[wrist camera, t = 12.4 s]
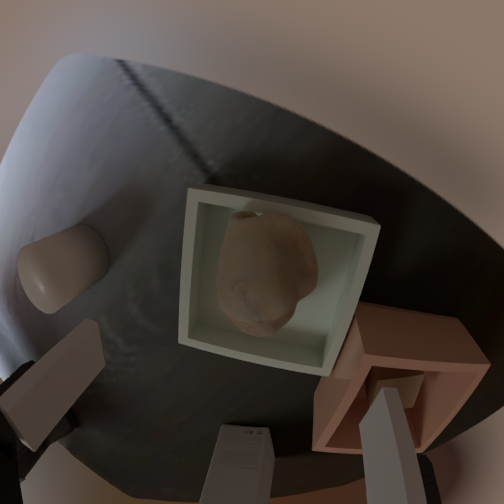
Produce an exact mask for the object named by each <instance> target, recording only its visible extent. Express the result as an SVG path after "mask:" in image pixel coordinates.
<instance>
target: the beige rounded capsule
mask: <svg viewBox="0 0 504 504" xmlns="http://www.w3.org/2000/svg"><path fill="white" fill-rule="evenodd" d="M17 269H18V275H19V279H20V282H21V285H22V287H23V289H24V291H25V293H26V295H27V297H28V298H29V300H30V301H31V302H32V303H33V305H34V306H35V307H36V308H38V309H39V310H40V311H42V312H44V313H46V314H53V313H55V312H56V311H58V310H59V309H60V308H62V307H63V306H64V305H66V304H67V303H69V302H70V301H71V300H73V299H74V298H76V297H77V296H78V295H80V294H81V293H83V292H84V291H85V290H87V289H88V288H90V287H91V286H93V285H94V284H95V283H97V282H98V281H100V280H101V279H102V278H103V277H104V276H105V275H106V272H107V269H108V254H107V250H106V247H105V244H104V242H103V240H102V239H101V237H100V236H99V234H98V233H97V232H96V231H95V230H94V229H93V228H91V227H90V226H88V225H85V224H78V225H75V226H73V227H70V228H68V229H65V230H63V231H60V232H58V233H55V234H53V235H50V236H48V237H46V238H43V239H41V240H39V241H36V242H34V243H32V244H29V245H27V246H25V247H23V248H22V249H21V250H20V252H19V254H18V259H17Z"/></svg>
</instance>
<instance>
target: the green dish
mask: <svg viewBox="0 0 504 504" xmlns="http://www.w3.org/2000/svg"><path fill="white" fill-rule="evenodd" d="M244 210H245V211H253V212H254V213H256V214H257V215H258V216H260V215H263V214H267V213H277V212H278V213H281V214H284V215H288V216H290V217H292V218H294V219H296V220H298V221H299V222H300V223H301V224H302V225H303V226H304V228H305V229H306V231H307V233H308V234H309V237H310V240H311V242H312V245H313V249H314V252H315V255H316V259H317V265H318V279H317V285H316V288H315V289H314V290H313V292H312V293H310V294H309V295H308V296H306V297H305V298H303V299H301V300H300V301H299V302H298V303H297V306H296V309H295V312H294V315H293V316H292V318H291V319H290V320H289V321H288V322H287V323H286V324H285V325H284V326H283V327H282V328H280V329H279V330H278V331H277V332H275V333H274V334H273V335H270V336H265V337H256V336H252V335H250V334H247V333H244V332H242V331H241V330H240V329H238V328H237V327H236V325H235V324H234V323H233V321H232V320H230V319H229V318H227V317H226V315H225V314H224V312H223V310H222V309H221V308H220V306H219V303H218V298H217V285H216V273H217V266H218V261H219V254H220V248H221V244H222V241H223V239H224V235H225V233H226V228H227V224H228V220H229V218H230V217H231V215H232V214H234V213H236V212H239V211H244ZM380 227H381V225H380V224H379V223H377V222H376V221H375V220H374V219H373V218H372V217H371V216H368V215H364V214H360V213H355V212H351V211H347V210H342V209H338V208H333V207H329V206H324V205H320V204H315V203H310V202H305V201H301V200H296V199H291V198H285V197H280V196H275V195H270V194H264V193H259V192H253V191H247V190H242V189H236V188H230V187H223V186H217V185H211V184H204V183H203V184H200V185H196V186H193V187H189V188H188V193H187V203H186V213H185V224H184V236H183V249H182V263H181V280H180V302H179V336H178V343H181V344H184V345H187V346H191V347H194V348H198V349H201V350H205V351H209V352H212V353H216V354H220V355H224V356H228V357H232V358H236V359H240V360H244V361H249V362H253V363H257V364H262V365H267V366H271V367H276V368H281V369H287V370H292V371H297V372H303V373H309V374H315V375H321V376H328V377H329V375H330V373H331V370H332V368H333V366H334V363H335V361H336V358H337V356H338V354H339V351H340V349H341V346H342V344H343V341H344V339H345V336H346V333H347V331H348V328H349V326H350V323H351V320H352V317H353V315H354V312H355V309H356V306H357V303H358V300H359V297H360V295H361V292H362V289H363V285H364V282H365V279H366V276H367V273H368V270H369V266H370V263H371V260H372V256H373V253H374V249H375V246H376V242H377V239H378V235H379V231H380Z"/></svg>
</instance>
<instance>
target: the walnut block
mask: <svg viewBox="0 0 504 504" xmlns="http://www.w3.org/2000/svg"><path fill="white" fill-rule="evenodd" d="M424 375H425V374H424V372H423V370H411V369H399V368H389V367H380V366H372V367H371V369H370V371H369V373H368V374H367V376H366V378H365V381H364V384H365V389H366V395H367V401H368V407H369V408H370V407H371V405H372V404H373V402H374V400H375V399H376V397H377V395H378V394H379V392H380V390H381V388H382V387H388V388H397V390H398V393H399V396H400V399H401V403H402V406H403V409H406V408H412V407H413V406H414V403H415V401H416V398H417V395H418V392H419V390H420V387H421V384H422V381H423V378H424Z"/></svg>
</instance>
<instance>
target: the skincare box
mask: <svg viewBox="0 0 504 504" xmlns="http://www.w3.org/2000/svg"><path fill="white" fill-rule="evenodd" d="M274 461H275V454H274V449H273V444H272V440H271V436H270V431H269V428H267V427H246V426H237V425H225V424H224V425H222V427H221V429H220V433H219V436H218V440H217V443H216V447H215V450H214V454H213V457H212V460H211V464H210V467H209V470H208V474H207V477H206V481H205V484H204V488H203V491H202V494H201V498H200V501H199V504H268V503H269V497H270V490H271V483H272V476H273V469H274Z"/></svg>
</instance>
